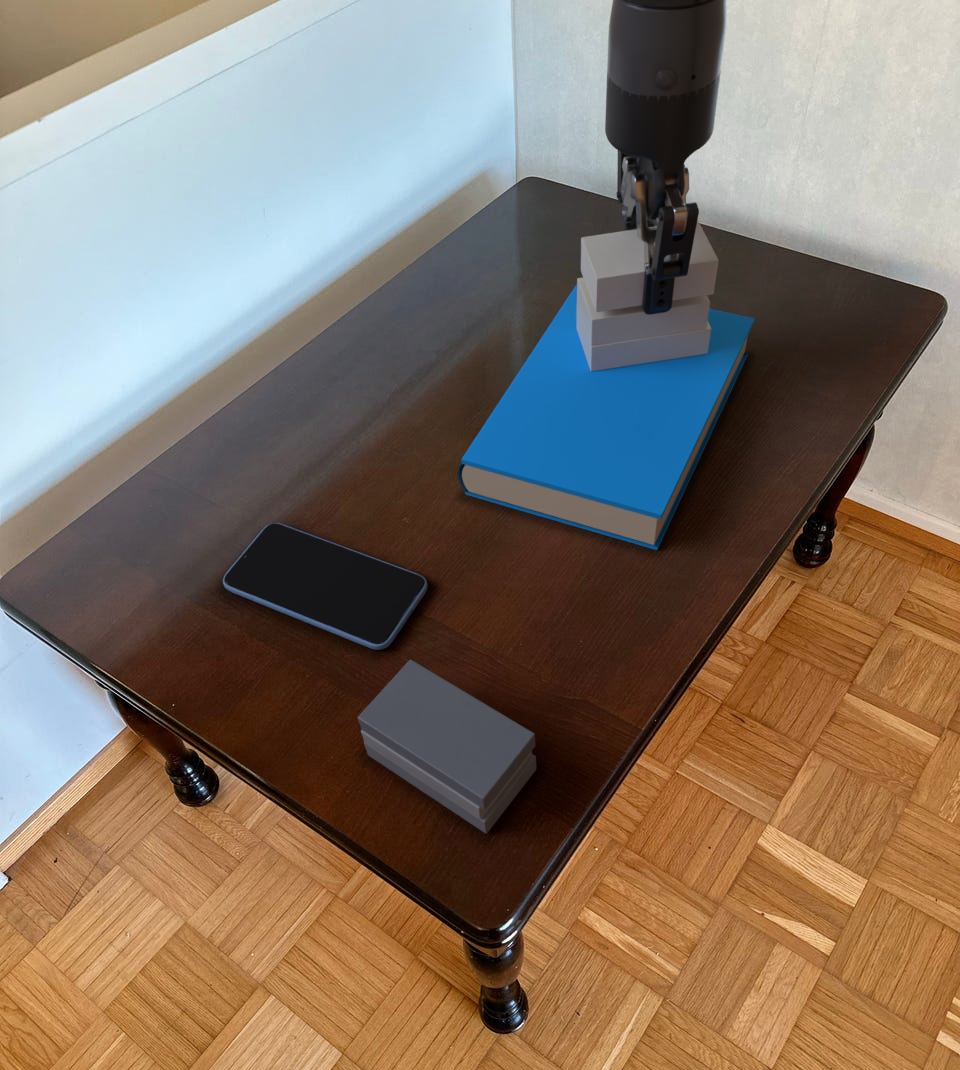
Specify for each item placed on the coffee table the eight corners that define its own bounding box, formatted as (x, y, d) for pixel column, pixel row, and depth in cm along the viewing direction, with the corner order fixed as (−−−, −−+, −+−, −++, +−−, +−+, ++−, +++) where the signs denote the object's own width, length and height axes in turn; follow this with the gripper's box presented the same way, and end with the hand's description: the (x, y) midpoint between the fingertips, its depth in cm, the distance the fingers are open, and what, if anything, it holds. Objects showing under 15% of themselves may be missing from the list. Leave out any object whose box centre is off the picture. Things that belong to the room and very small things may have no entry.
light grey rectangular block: (688, 311, 82) (695, 259, 78) (707, 354, 79) (715, 302, 75) (576, 328, 82) (577, 277, 78) (590, 371, 78) (592, 320, 74)
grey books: (538, 769, 62) (536, 732, 58) (487, 835, 59) (482, 800, 55) (419, 696, 66) (409, 656, 62) (367, 755, 63) (354, 717, 59)
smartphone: (383, 649, 67) (215, 582, 72) (385, 655, 68) (219, 589, 73) (432, 575, 71) (270, 516, 75) (433, 582, 71) (272, 523, 76)
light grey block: (693, 253, 77) (697, 219, 75) (713, 294, 74) (718, 259, 72) (580, 270, 77) (581, 237, 75) (595, 312, 74) (596, 278, 71)
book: (755, 316, 81) (666, 512, 68) (747, 357, 85) (660, 552, 72) (570, 279, 86) (454, 455, 73) (569, 319, 90) (458, 495, 77)
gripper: (753, 106, 58) (717, 334, 72) (689, 11, 67) (668, 232, 80) (634, 123, 58) (621, 349, 72) (585, 26, 66) (582, 245, 80)
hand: (646, 286), depth 76 cm, fingers closed on light grey block, 5 cm apart
